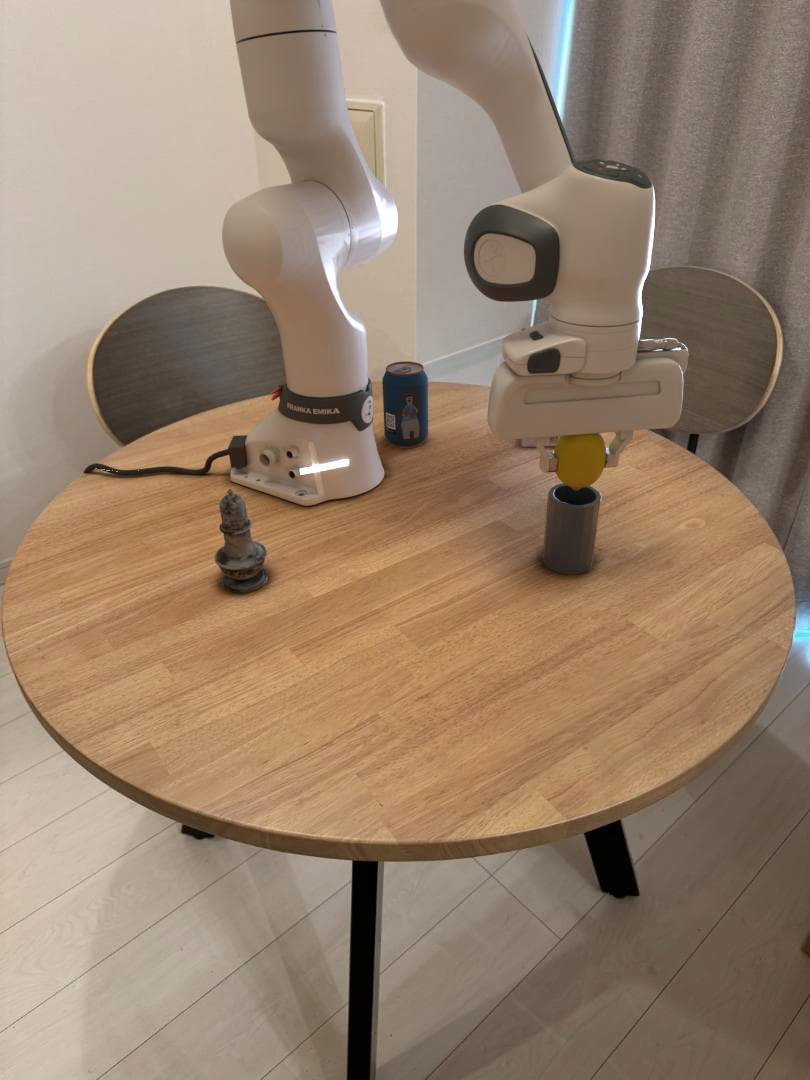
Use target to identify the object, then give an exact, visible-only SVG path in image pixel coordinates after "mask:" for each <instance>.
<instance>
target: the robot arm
mask: <svg viewBox="0 0 810 1080" xmlns="http://www.w3.org/2000/svg"><path fill="white" fill-rule="evenodd" d="M229 3H230V4H229V5H230V14H231V21H232V28H233V29H232V30H233V35H234V41H235V47H236V53H237V59H238V64H239V70H240V76H241V80H242V86H243V92H244V98H245V103H246V110H247V116H248V119H249V122H250V124H251V127H252V128H253V130H254V131H255V132H256V134H258V135H259V136H260V138H262V139H263V140H265V141H266V142H267V143H269V144H270V145H272V146H273V148H274V149H275V150H276V151H277V153H278V155H279V156H280V158H281V160H282V161H283V163H284V166H285V167H286V169H287V173H288V176H289V178H290V181H291V183H287V184H280V185H273V186H268V187H263V188H261V189H259V190H257V191H255V192H253V193H251V194H249V195H247V196H245V197H244V198H242V199H240V200H238V201H236V202H234V203H233V204H232V205H231V206H230V207H229V208H228V210H227V211H226V214H225V216H224V218H223V222H222V227H221V242H222V248H223V253H224V257H225V258H226V260H227V262H228V264H229V267H230V268H231V270H232V271H233V273H234V274H235V275H236V276H237V277H238V279H240V280H241V282H243V283H244V284H245V285H246V286H249V287H250V288H251V289H253V290H254V291H256V292H257V293H258V294H259V295H260V297H261V298H262V299H263V300H264V302H265V303H266V305H267V307H268V309H269V310H270V312H271V314H272V317H273V318H274V321H275V324H276V327H277V330H278V334H279V339H280V344H281V351H282V358H283V365H284V373H285V379H286V380H285V381H283V382H281V383H280V384H278V385H277V388H276V389H274V390H273V391H271V392H270V395H272V397H271V398H270V400H271V401H275V400H276V399H278V398H279V403H278V405H277V407H276V408H275V409H274V410H273V411H272V412H270V413H269V414H268V415H267V416H265V417H264V418H263V419H261V420H260V421H259V422H258V423H257V424H256V425H255V426H254V427H253V428H252V429H251V430H249V432H248V434H247V435H233V436H232V437H231V441H230V442H229V444H228V446H227V448H226V449H223V450H219V451H215V452H214V453H213V454H211V455H209V456H208V457H207V459H206V460H205V463H204V467H201V468H198V469H190V468H185V467H179V466H173V465H171V466H170V465H167V466H166V465H165V466H154V467H153V466H152V467H145V468H136V469H119V468H115V467H112V466H110V465H106V464H103V463H97V462H96V463H92V464H89V465H88V466H86V467H85V468H84V470H83V474H90V473H92V472H93V471H95V470H98V471H99V470H100V471H104V472H106V473H109V474H111V475H116V476H121V477H133V476H144V475H151V474H160V473H174V474H180V475H187V476H202V475H205V474H207V473H208V472H210V470H211V469H212V465H213V462H214V461H215V460H217V459H221V458H223V457H226V456H228V457H229V464H230V468H231V469H230V481H231V482H233V483H235V484H238V485H241V486H244V487H247V488H250V489H253V490H256V491H259V492H262V493H265V494H268V495H271V496H272V497H273V496H274V497H277V498H280V499H283V500H286V501H288V502H291V503H295V504H297V505H301V506H303V507H309V506H314V505H319V504H320V503H323V502H326V501H331V500H339V499H347V498H350V497H354V496H359V495H361V494H364V493H367V492H369V491H370V490H372V489H374V488H376V487H377V486H378V485H380V484H381V482H382V481H383V480H384V478H385V473H386V471H385V469H384V467H383V464H382V461H381V458H380V454H379V451H378V447H377V443H376V442H377V441H376V437H375V433H374V426H373V421H374V410H375V409H374V407H375V406H374V397H373V396H374V395H373V384H372V380H371V378H370V377H369V369H368V368H369V364H368V347H367V346H368V345H367V342H368V341H367V329H366V326H365V325H366V324H365V323H364V321H363V320H362V319H361V317H360V316H359V315H358V313H357V314H356V313H355V312H354V311H352V310H350V309H349V308H347V307H346V306H345V304H344V302H343V300H342V297H341V294H340V291H339V287H338V274H340V273H344V272H348V271H350V270H353V269H356V268H360V267H363V266H366V265H367V264H369V263H370V262H371V261H373V260H374V259H376V258H378V257H379V256H380V255H382V254H383V253H384V252H385V251H386V250H388V249H389V248H390V246H391V245H392V244H393V242H394V240H395V238H396V235H397V232H398V228H399V227H398V226H399V214H398V209H397V205H396V202H395V200H394V197H393V195H392V194H391V192H390V190H389V189H388V188H387V187H386V186H385V185H384V184H383V183H382V182H381V181H379V179H378V178H377V177H376V176H375V174H374V173H373V172H372V170H371V169H370V167H369V165H368V163H367V161H366V159H365V157H364V155H363V152H362V149H361V147H360V144H359V142H358V139H357V137H356V134H355V132H354V131H355V130H354V128H353V124H352V122H351V118H350V114H349V110H348V103H347V97H346V91H345V83H344V77H343V71H342V64H341V56H340V49H339V41H338V34H337V25H336V18H335V12H334V6H333V0H229ZM379 3H380V6H381V10H382V12H383V15H384V19H385V21H386V23H387V27H388V28H389V30H390V32H391V35H392V36H393V39H394V40H395V42H396V44H397V45H398V47H399V48H400V50H401V52H402V54H403V56H404V57H405V59H406V60H407V61H408V62H409V63H410V64H411V65H413V66H414V67H415V68H417V69H418V70H419V71H421V72H422V73H424V74H425V75H427V76H429V77H431V78H434V79H436V80H439V81H441V82H443V83H445V84H447V85H449V86H451V87H453V88H455V89H456V90H458V91H460V92H461V93H463V94H464V95H466V96H467V97H469V98H470V99H471V100H473V101H474V102H475V103H476V104H478V106H480V107H481V109H482V110H483V111H484V112H485V113H486V115H487V116H488V117H489V118H490V120H491V122H492V124H493V125H494V127H495V129H496V132H497V135H498V137H499V139H500V142H501V144H502V147H503V150H504V152H505V155H506V157H507V159H508V162H509V165H510V167H511V170H512V172H513V175H514V177H515V180H516V183H517V185H518V187H519V190H520V194H517V195H513V196H510V197H507V198H504V199H501V200H498V201H496V202H494V203H491V204H490V205H488V206H486V207H484V208H482V209H481V210H479V212H477V213H476V214H475V216H474V217H473V218H472V220H471V221H470V223H469V225H468V228H467V230H466V233H465V236H464V242H463V259H464V265H465V269H466V272H467V274H468V276H469V278H470V280H471V282H472V284H473V285H474V287H475V288H476V289H477V290H478V291H479V292H480V293H481V294H482V295H483V296H485V297H486V298H487V299H490V300H492V301H495V302H503V303H515V302H530V301H537V300H543V301H545V302H547V303H548V305H549V318H548V319H545V320H543V321H542V322H539V323H537V324H535V325H532V326H530V327H527V329H524V328H523V329H524V330H522V329H521V330H519V331H516V332H514V333H510V334H508V335H507V336H505V337H503V339H502V340H501V342H500V343H501V344H500V352H501V355H502V358H503V360H504V361H503V362H501V363H500V364H499V365H498V367H496V369H495V371H494V373H493V376H492V379H491V384H490V390H489V396H488V403H487V414H486V415H487V416H486V418H487V419H486V420H487V425H488V427H489V429H490V432H491V433H492V434H493V435H494V436H495V437H496V438H497V439H498V440H499V441H515V440H520V439H529V438H531V439H532V440H533V442H534V444H535V446H536V450H537V451H538V453H539V469H540V471H541V472H542V474H547V473H548V474H549V473H556V471H557V467H556V465H557V464H558V458H557V456H555V453H554V451H548V450H547V448H546V447H547V446H546V445H549V444H550V437H555V436H568V435H581V434H595V433H600V434H605V433H606V434H607V433H608V434H609V433H614V434H615V436H614V437H613V439H612V440H611V442H610V443H609V445H608V446H607V447H606V446H605V448H606V461H605V466H604V469H606V468H607V469H609V468H617V467H619V463H620V455H621V454H622V453H623V452H624V451H625V449H626V448H627V446H628V445H629V444H631V442H632V441H633V439H634V438H633V437H634V432H635V431H646V430H657V429H658V430H659V429H670V428H673V427H674V426H675V425H676V424H677V422H678V421H679V420H680V419H681V415H682V409H683V397H684V375H685V373H686V371H687V367H688V362H689V350H688V348H687V346H686V345H685V344H684V343H682V342H679V341H678V339H677V338H674V337H673V338H671V337H669V338H663V339H640V335H641V328H642V321H643V315H644V314H643V313H644V310H643V309H644V308H643V303H642V302H643V301H642V292H643V287H644V283H645V280H646V279H647V276H648V274H649V271H650V267H651V260H652V253H653V244H654V236H655V235H654V233H655V219H656V197H655V196H656V195H655V189H654V185H653V182H652V180H651V179H650V177H649V176H648V175H647V174H646V173H645V172H643V171H642V170H641V169H639V168H638V167H636V166H633V165H630V164H627V163H624V162H620V161H615V160H610V159H608V160H606V159H601V158H600V159H599V158H585V159H581V160H576V156H575V154H574V151H573V148H572V147H571V143H570V141H569V138H568V135H567V133H566V130H565V127H564V124H563V121H562V119H561V116H560V113H559V111H558V108H557V105H556V102H555V99H554V96H553V93H552V91H551V88H550V85H549V83H548V80H547V78H546V75H545V72H544V70H543V68H542V65H541V63H540V60H539V58H538V55H537V53H536V51H535V49H534V47H533V45H532V42H531V40H530V37H529V35H528V34H527V32H526V30H525V27H524V25H523V23H522V21H521V19H520V16H519V14H518V11H517V9H516V6H515V4H514V1H513V0H379ZM544 445H545V446H544ZM95 468H97V469H95ZM101 469H105V470H101ZM106 470H110V471H106ZM112 470H113V471H112ZM138 470H139V471H138ZM116 471H118V472H116Z"/></svg>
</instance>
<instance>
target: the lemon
mask: <svg viewBox="0 0 810 1080" xmlns="http://www.w3.org/2000/svg"><path fill="white" fill-rule="evenodd" d="M554 447H555V448H554V451H553V452H554V453H555V456H557V458H558V464H557V465H556V467H557V471H556V472H555V474H556V476H557V478H558V479H559V481H560V482H561V483H564V484H566V485H567V486H570V487H571V488H572V489H573V490H576V491H577V490H579V489H581V488H584V487H587V486H591V485H593V484H594V483H596V482H597V481H598V480H599V479H600V477H601V476H602V474H603V472H604V469H605V468H604V466H605V461H606V448H605V447H606V443H605V440H604V438H603V436H602V433H595V434H581V435H568V436H560V438H559V440H558V442H557V444H556V446H554Z"/></svg>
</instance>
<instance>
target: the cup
mask: <svg viewBox="0 0 810 1080" xmlns="http://www.w3.org/2000/svg"><path fill="white" fill-rule="evenodd" d="M602 498H603V496H602V494H601V491H599V490H598V489H597V488H595V487H593V486H591V485H590V486H587V487H584V488H581V489H579V490H577V491H576V490H573V489H572V488H571V487H570V486H567V485H566V484H564V483H563V482H561V483H557V484H555V485H554V486H552V487H550V489H549V490H548V493H547V502H546V503H547V504H546V512H545V513H546V515H545V526H544V535H543V536H544V537H543V546H542V562H543V565H544V566H545V567H546V568H547V569H548V570H550V571H552V572H554V573H556V574H561V575H566V576H576V575H581V574H584V573H586V572H588V571H589V570H590V569H591V568H592V566H593V562H594V558H595V549H596V544H597V543H596V542H597V536H598V529H599V521H600V513H601V506H602V501H603V500H602Z"/></svg>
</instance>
